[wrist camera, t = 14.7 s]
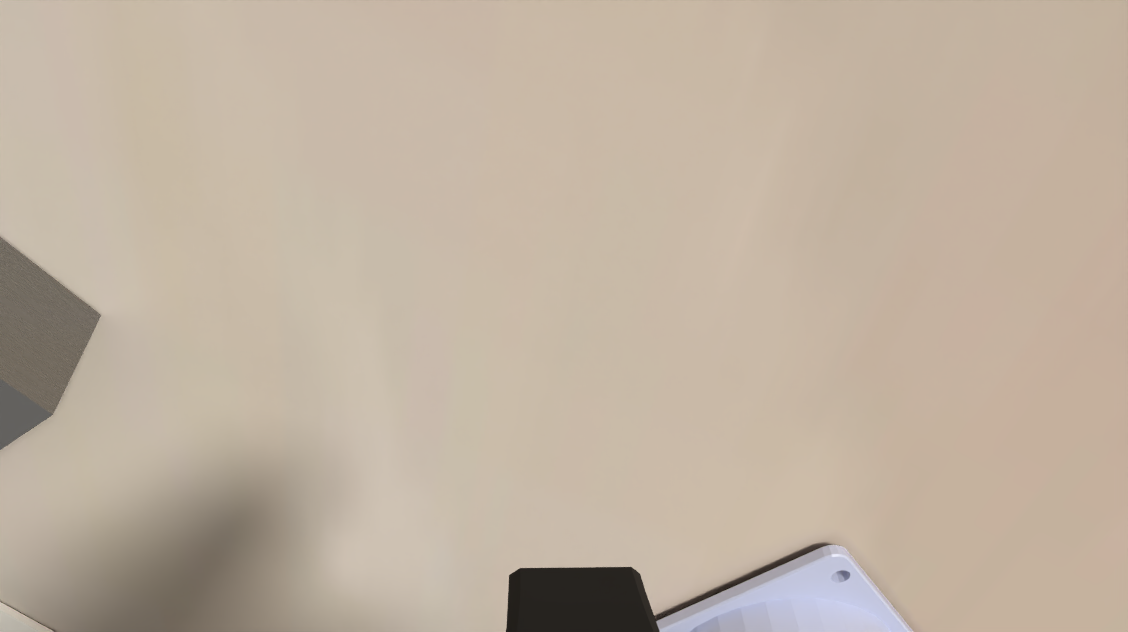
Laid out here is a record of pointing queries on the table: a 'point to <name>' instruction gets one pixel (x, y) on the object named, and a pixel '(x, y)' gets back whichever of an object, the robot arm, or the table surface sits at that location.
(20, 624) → the paper sheet
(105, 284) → the table surface
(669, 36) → the table surface
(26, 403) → the button housing
